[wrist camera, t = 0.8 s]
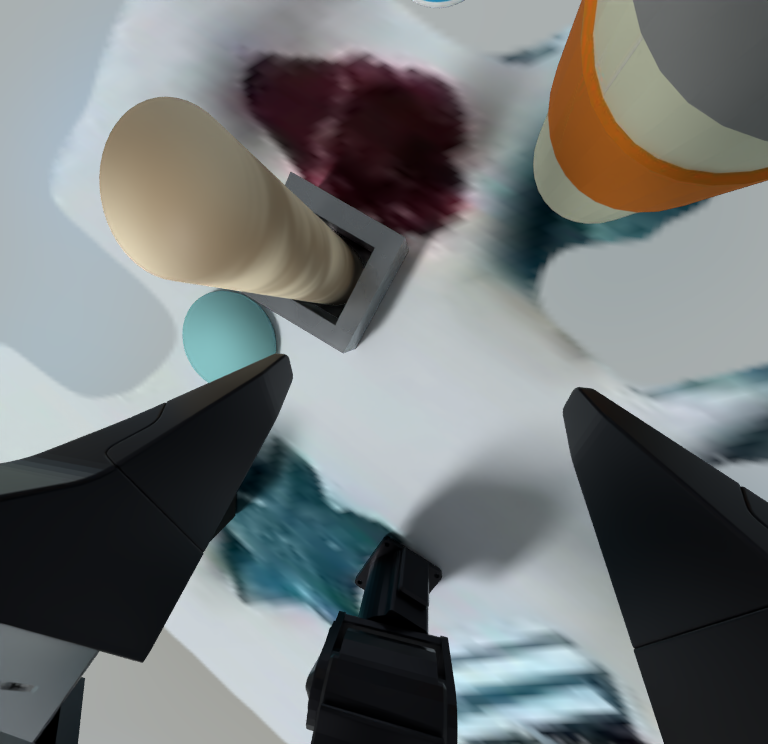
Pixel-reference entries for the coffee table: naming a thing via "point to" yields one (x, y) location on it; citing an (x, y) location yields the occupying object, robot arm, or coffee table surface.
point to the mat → (226, 334)
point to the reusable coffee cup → (655, 107)
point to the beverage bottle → (437, 3)
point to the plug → (214, 210)
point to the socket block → (371, 283)
